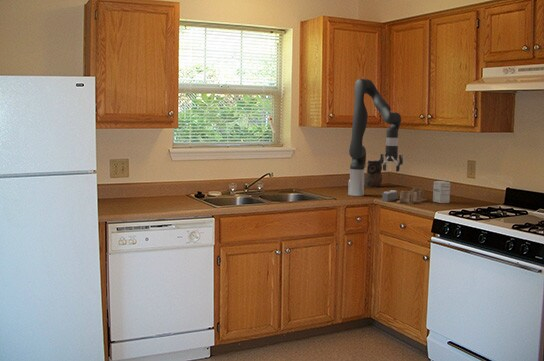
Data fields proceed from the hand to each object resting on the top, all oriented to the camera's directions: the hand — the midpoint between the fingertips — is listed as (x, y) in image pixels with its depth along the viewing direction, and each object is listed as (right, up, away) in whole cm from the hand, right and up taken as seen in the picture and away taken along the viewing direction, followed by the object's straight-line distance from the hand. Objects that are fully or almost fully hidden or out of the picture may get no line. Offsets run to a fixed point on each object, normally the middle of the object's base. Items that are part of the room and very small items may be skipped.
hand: (391, 171), depth 396 cm
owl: (-1, -10, +71) cm, 72 cm away
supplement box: (+30, -19, -4) cm, 36 cm away
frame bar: (0, -18, +2) cm, 18 cm away
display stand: (+12, -19, -3) cm, 22 cm away
